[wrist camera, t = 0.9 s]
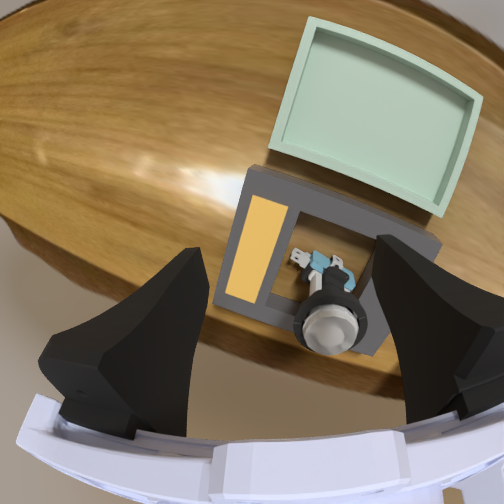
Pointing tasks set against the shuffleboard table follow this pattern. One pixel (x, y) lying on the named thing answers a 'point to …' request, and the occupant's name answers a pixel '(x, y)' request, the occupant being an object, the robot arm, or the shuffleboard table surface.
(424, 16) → the shuffleboard table surface
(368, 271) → the panel
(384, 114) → the parts tray
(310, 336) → the push button
